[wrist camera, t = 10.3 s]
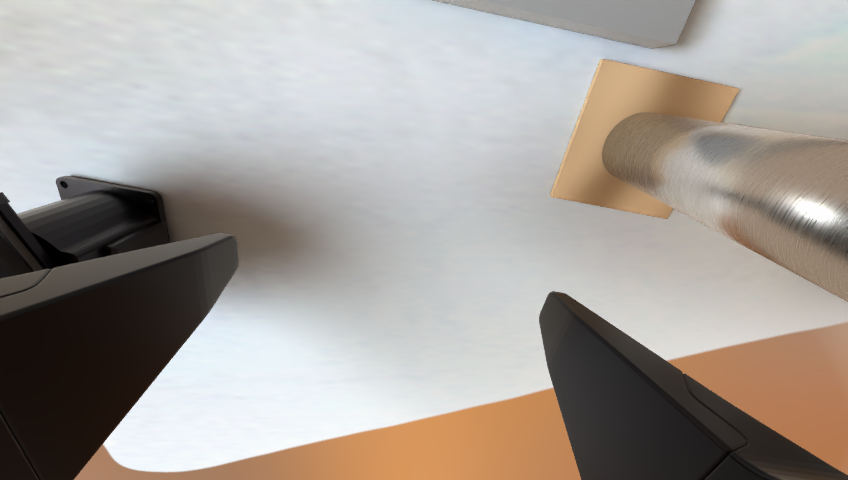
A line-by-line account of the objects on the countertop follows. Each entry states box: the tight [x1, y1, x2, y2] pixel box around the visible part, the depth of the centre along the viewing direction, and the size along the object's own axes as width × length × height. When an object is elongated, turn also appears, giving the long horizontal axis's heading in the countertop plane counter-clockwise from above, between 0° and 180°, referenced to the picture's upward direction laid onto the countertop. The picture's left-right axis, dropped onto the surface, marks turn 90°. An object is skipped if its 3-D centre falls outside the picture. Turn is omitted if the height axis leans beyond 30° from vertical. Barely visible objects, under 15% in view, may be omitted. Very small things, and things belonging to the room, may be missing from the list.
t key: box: [602, 112, 848, 301], centre depth 13 cm, size 4×6×15 cm, turn 9°
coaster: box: [550, 59, 739, 219], centre depth 20 cm, size 8×8×1 cm
